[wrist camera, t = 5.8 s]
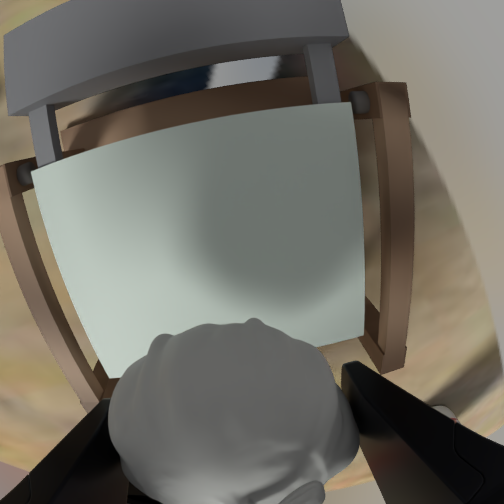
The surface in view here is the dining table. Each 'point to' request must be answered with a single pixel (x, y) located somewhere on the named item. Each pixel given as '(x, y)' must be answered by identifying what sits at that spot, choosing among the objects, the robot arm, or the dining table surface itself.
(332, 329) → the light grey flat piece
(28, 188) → the stand
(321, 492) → the garlic
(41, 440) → the dining table surface
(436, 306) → the dining table surface
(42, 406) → the dining table surface
